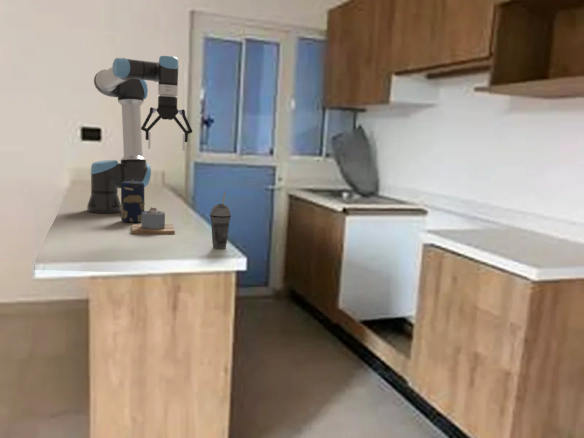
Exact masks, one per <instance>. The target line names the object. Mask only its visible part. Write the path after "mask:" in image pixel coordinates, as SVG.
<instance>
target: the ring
mask: <svg viewBox="0 0 584 438" xmlns="http://www.w3.org/2000/svg"><path fill="white" fill-rule="evenodd" d="M141 224H142V226H141V228H142V229H147V230H160V229H165V224H166V212H165V211H159V210H158V214H149V210H146V211H145V210H144V211H143V212H142V221H141Z"/></svg>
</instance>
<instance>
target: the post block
mask: <svg viewBox="0 0 584 438" xmlns="http://www.w3.org/2000/svg"><path fill="white" fill-rule="evenodd" d="M149 208H150V209H148V211H149V214H158V211H159V210H158V208H157V207H156V206H150V207H149ZM141 226H142V223H137V224H135V223H133V224H131V235H176V231H175V227H174V224H168V223H165V229H160V230H147V229H142V228H141Z"/></svg>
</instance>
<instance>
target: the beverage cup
mask: <svg viewBox="0 0 584 438" xmlns="http://www.w3.org/2000/svg"><path fill="white" fill-rule="evenodd" d="M225 198H226V191H223V195H222V203H218V204H216V205H213V207H212V208H211V210H210V213H209V216H210V221H211V240H212V249H214V250H226V248H227V244H228V235H229V228H230V226H229V225H230V222H231V217H232V216H231V210H230V208H229V206H227V205H226V204H225Z"/></svg>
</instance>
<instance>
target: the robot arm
mask: <svg viewBox="0 0 584 438" xmlns="http://www.w3.org/2000/svg"><path fill="white" fill-rule="evenodd" d="M158 58H159V59H158V62H155V61H149V60H148V61H146V60H138V59H131V58H125V57H117V58H115V59H114V60H113V62H112V66H111V67H110V68H108V69H101V70H99V71H97V73H96V74H95V75H94V78H93V85H94V86H95V88H96V90H97V91H98V92H99V93H101V94H103V95H104V96H106V97H110V98H111V97H112V98H117V102H118V103H119V104H120V105H121V118H122V119H121V122H122V141H123V143H122V144H123V145H122V147H123V157H122V158H121V159H120V162H118V160H116V159H110V160H99V161H95V162H94V161H93V162H92V164H91V166H90V192H91V193H90V197H89V200H88V203H87V206H86V208H87V209H86V210H87V212H89V213H94V214H114V213H115V214H116V213H121V199H120V198H119V194H118V192H119V190H118V189H121V183H122V182H124V181H132V179H133V180H134V181H140V182H143V183H144V188H146V187H147V186H148V184H149V183H150V181H151V177H152V169H151V168H152V167H151V165H150V164H149V163H147V159H146V158H145V157H144V156H143V136H142V135H143V134H142V133H143V132H145V140H146V141H147V144H148V146H147V149H151V130H152V128H153V127H154V126H155V125H156V124H157V123H158V122H159V121H160V120H161V119H162V120H164V121H165V120H168V121H172V120H174V122H175V123H176V124H177V125H178V127H179V128H180V129H181V130H182V131H183V134H182V145H181V146H182V149H181V151H185V148H186V147H185V146H186V145H185V144H186V143H187V142H188V141H189V140H188V139H189V137H188V136H189V134H192V133H193V129H192V127H191V125H190V123H189V120H188V118H187V115H186V110H185V109H178V98H177V97H178V91H179V90H178V87H179V86H178V85H179V83H178V82H179V58H177V56H171V55H160V56H159V57H158ZM147 81H149V82H150V81H152V82H154V83H155V82H157V83H158V85H157V87H158V92H157V93H158V95H159V96H158V98H157V108H155V107H150V108H149V113H148V115H147V116H146V118H145V120H144V122H143V124H142V115H141V113H142V111H141V106H142V105H143V104H144V100H146V99H147V97H148V92H149V89H148V83H147ZM155 112H156V113H158V116H157V117H156V118H155V119H154V120H153V121H152V122H151V123H150V125H148V122H149V121H150V119H151V117H152V116H153V114H155ZM178 113H179V115H181V117H182V119H183V121H184V123H185V126H186V127H187V128H185V126H184V125H183V124H182V122H181V121H180V120H179V119H178V118H177V115H178ZM147 125H148V127H147ZM146 127H147V128H146ZM187 129H188V130H187ZM142 131H143V132H142Z"/></svg>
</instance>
